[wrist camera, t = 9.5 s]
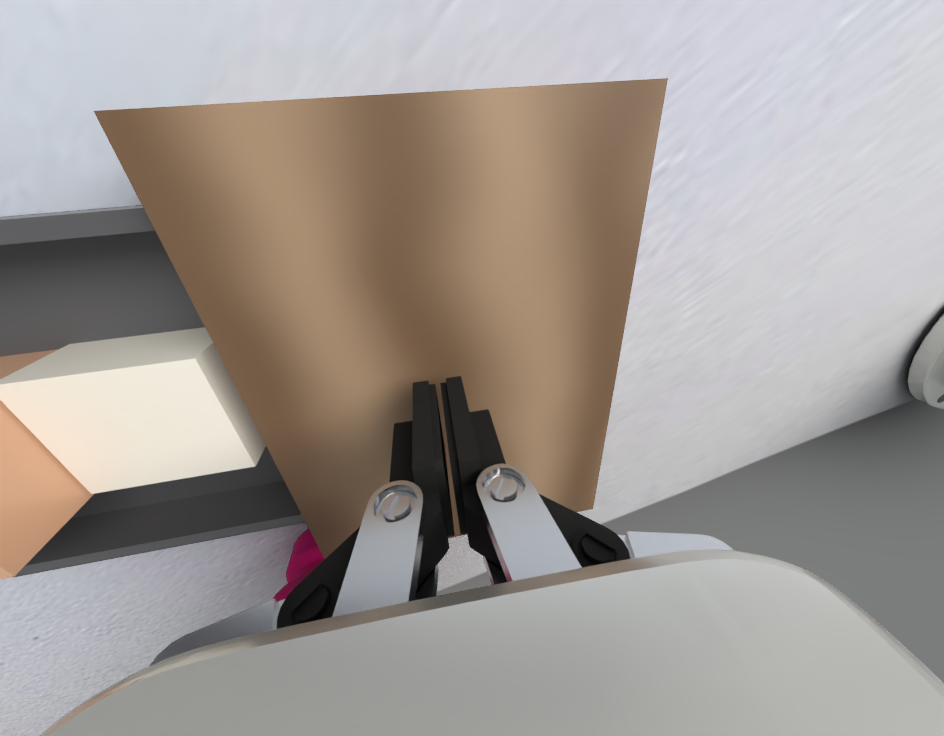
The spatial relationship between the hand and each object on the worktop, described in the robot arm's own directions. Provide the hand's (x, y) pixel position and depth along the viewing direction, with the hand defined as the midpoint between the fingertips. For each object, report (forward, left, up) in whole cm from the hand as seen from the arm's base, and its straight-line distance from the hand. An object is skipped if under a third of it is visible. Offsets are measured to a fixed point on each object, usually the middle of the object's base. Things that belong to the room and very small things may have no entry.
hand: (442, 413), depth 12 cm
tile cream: (+11, 0, -5) cm, 12 cm away
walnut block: (0, 0, -5) cm, 5 cm away
